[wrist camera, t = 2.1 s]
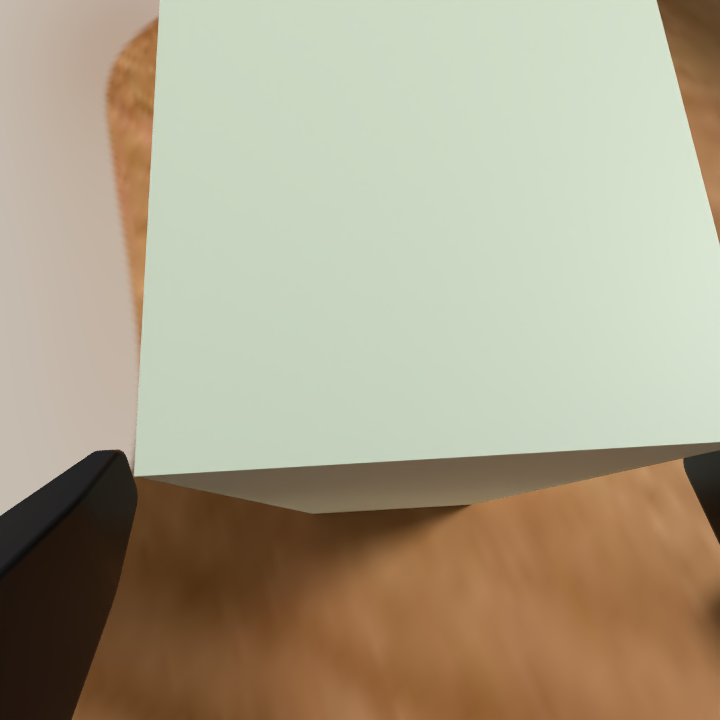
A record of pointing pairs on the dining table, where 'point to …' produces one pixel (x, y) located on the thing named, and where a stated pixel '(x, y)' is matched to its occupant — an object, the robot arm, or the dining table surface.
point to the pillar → (421, 252)
